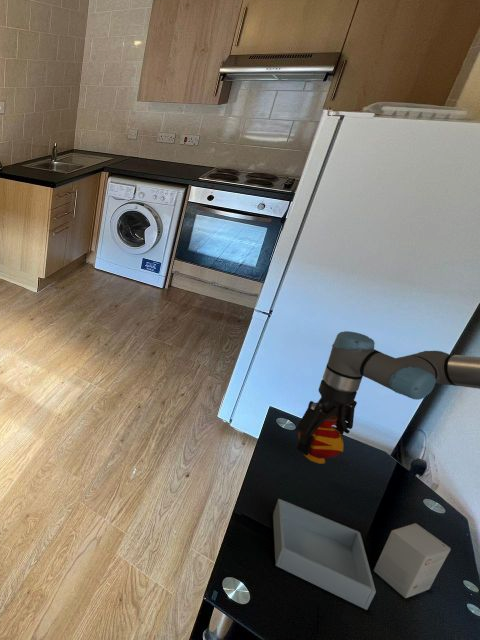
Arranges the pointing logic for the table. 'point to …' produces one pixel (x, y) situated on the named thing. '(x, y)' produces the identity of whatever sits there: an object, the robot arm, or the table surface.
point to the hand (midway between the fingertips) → (316, 449)
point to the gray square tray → (322, 553)
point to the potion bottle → (325, 441)
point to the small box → (411, 560)
